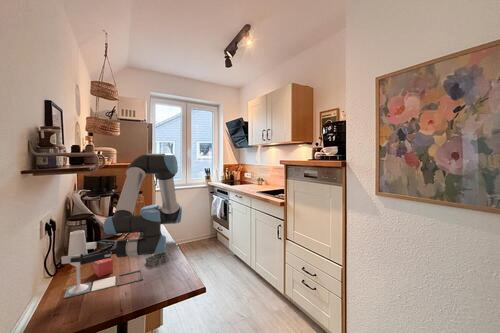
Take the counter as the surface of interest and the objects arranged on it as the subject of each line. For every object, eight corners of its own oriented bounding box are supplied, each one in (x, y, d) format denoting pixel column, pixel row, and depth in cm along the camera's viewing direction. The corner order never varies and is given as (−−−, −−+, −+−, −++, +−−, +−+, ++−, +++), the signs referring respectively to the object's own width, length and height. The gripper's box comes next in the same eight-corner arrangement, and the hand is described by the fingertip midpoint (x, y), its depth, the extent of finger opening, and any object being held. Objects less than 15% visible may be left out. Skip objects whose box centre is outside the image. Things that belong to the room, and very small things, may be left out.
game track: (141, 270, 110) (141, 269, 110) (142, 280, 101) (142, 279, 101) (68, 287, 96) (68, 286, 96) (62, 299, 87) (62, 298, 87)
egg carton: (164, 256, 125) (164, 249, 125) (169, 261, 120) (169, 253, 120) (144, 262, 118) (144, 255, 118) (149, 267, 113) (149, 259, 112)
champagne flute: (63, 292, 91) (62, 234, 90) (79, 284, 97) (77, 229, 97) (78, 294, 90) (76, 235, 89) (92, 285, 96) (91, 229, 96)
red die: (108, 268, 112) (108, 255, 112) (112, 272, 108) (112, 258, 108) (94, 273, 107) (93, 259, 107) (98, 277, 104) (97, 263, 103)
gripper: (119, 269, 86) (53, 277, 80) (135, 245, 110) (86, 249, 105) (118, 250, 85) (52, 256, 80) (135, 230, 109) (85, 234, 104)
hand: (71, 252), depth 92 cm, fingers open, 13 cm apart
